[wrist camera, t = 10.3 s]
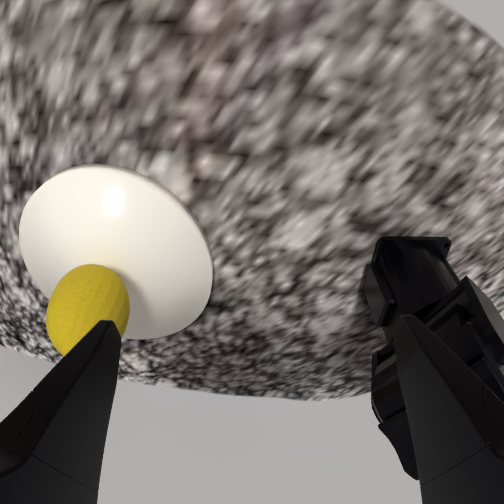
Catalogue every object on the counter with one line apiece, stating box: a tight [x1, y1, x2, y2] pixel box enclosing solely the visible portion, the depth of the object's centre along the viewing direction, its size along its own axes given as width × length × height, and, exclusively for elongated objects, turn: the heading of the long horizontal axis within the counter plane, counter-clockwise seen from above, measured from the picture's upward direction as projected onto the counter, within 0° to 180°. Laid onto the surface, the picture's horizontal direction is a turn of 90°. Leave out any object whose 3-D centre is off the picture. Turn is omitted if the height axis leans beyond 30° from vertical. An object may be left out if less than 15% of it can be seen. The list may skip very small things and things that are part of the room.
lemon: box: [46, 264, 130, 356], centre depth 19 cm, size 6×6×8 cm
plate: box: [19, 164, 213, 339], centre depth 23 cm, size 16×16×1 cm
